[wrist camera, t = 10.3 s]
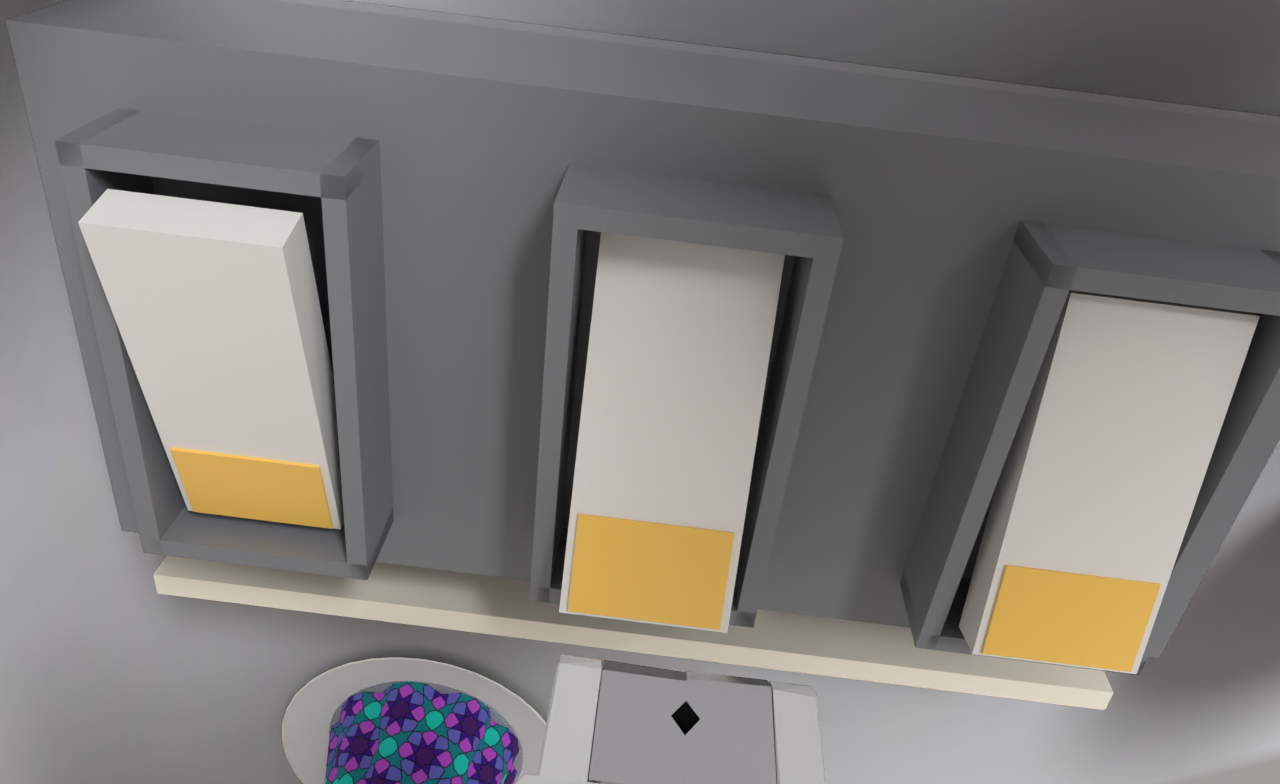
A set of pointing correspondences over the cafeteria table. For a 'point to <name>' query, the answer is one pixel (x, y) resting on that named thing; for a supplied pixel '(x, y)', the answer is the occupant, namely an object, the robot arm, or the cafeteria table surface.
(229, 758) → the cafeteria table surface
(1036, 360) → the switch box
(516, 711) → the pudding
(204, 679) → the cafeteria table surface
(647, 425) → the rocker
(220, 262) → the rocker
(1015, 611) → the rocker
